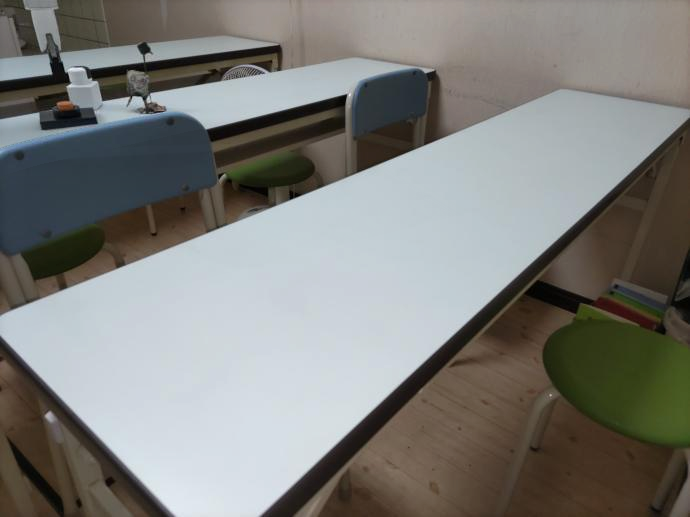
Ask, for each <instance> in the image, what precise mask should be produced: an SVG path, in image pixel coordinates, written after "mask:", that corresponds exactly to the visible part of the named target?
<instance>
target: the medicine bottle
mask: <svg viewBox="0 0 690 517" xmlns="http://www.w3.org/2000/svg"><path fill="white" fill-rule="evenodd" d="M67 74H68V78H69V82H70V84H69V85H67V86H66V87H65V88H66V91H67V95H68V101H70V102H73V105H78V106H79V107H80V108H89V107H93V110H94V111H97V110H98V109H99V108H100V107H102V106H103V104H104V103H103V98H102V94H101V89H100V85H99V82H98V81H97V80H93V77H92V74H91V69H90V68H89V67H88V66H85V65H73V66H69V68H67Z"/></svg>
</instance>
